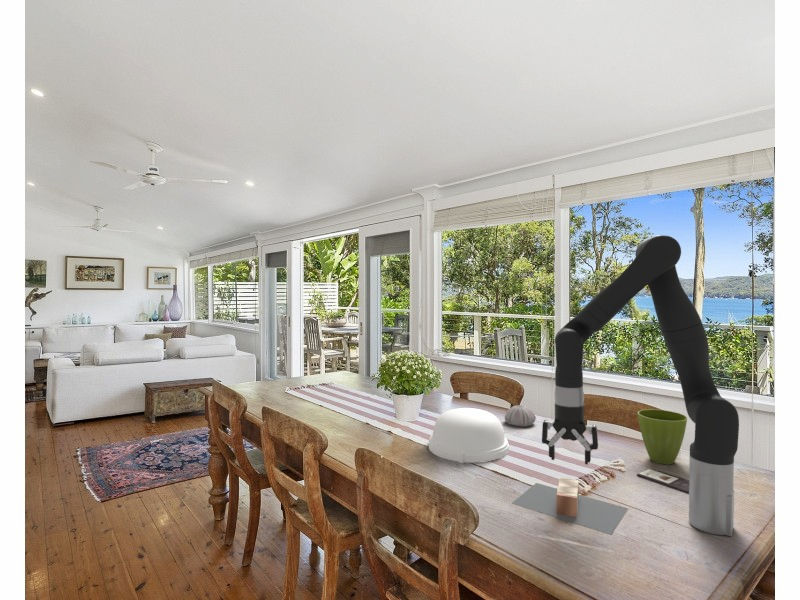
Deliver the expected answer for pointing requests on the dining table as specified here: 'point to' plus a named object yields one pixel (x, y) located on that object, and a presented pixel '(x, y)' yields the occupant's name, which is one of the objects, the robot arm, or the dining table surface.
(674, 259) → the robot arm
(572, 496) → the birch block
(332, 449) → the dining table surface
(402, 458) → the dining table surface
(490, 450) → the dome cover
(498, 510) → the dining table surface
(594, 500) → the rubber mat
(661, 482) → the chocolate bar
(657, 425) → the flower pot
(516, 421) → the sea urchin shell
